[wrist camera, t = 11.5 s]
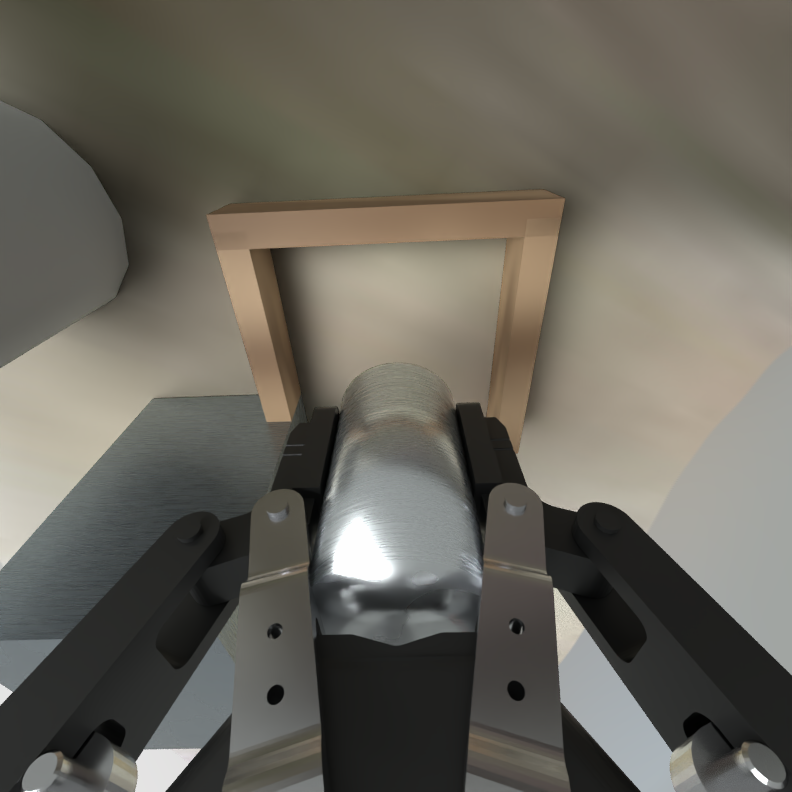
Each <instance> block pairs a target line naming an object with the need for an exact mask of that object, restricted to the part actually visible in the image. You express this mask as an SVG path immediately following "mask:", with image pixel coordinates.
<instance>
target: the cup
mask: <svg viewBox="0 0 792 792" xmlns="http://www.w3.org/2000/svg"><path fill="white" fill-rule="evenodd" d="M128 266H129V263H128V256H127V250H126V243H125V237H124V231H123V224H122V219H121V217H120V215H119V214H118V212H117V210H116V209H115V207H114V205H113V203H112V202H111V200H110V198H109V196H108V195H107V193H106V191H105V190H104V188H103V186H102V184H101V183H100V181H99V179H98V177H97V176H96V174H95V172H94V171H93V169H92V167H91V166H90V165H89V164H88V163H87V162H85V161H84V160H83V159H82V158H81V157H80V156H79V155H78V154H77V153H76V152H75V151H74V150H73V149H72V148H70V147H69V146H68V145H67V144H66V143H65V142H64V141H63V140H62V139H61V138H60V137H59V136H58V135H57V134H55V133H54V132H53V131H52V130H51V129H50V128H49V127H48V126H47V125H46V124H45V123H44V122H43V121H42V120H40V119H38V118H36V117H34V116H32V115H30V114H27V113H25V112H23V111H21V110H19V109H17V108H15V107H13V106H11V105H9V104H6V103H4V102H2V101H0V368H1V367H3V366H5V365H6V364H8V363H10V362H11V361H13V360H14V359H16V358H18V357H19V356H21V355H23V354H24V353H26V352H27V351H29V350H31V349H32V348H34V347H36V346H37V345H39V344H40V343H42V342H44V341H45V340H47V339H49V338H50V337H52V336H54V335H55V334H57V333H58V332H60V331H62V330H63V329H65V328H67V327H68V326H70V325H71V324H73V323H75V322H76V321H78V320H80V319H81V318H83V317H84V316H86V315H88V314H89V313H91V312H93V311H94V310H96V309H97V308H99V307H101V306H102V305H104V304H106V303H107V302H109V301H111V300H112V299H114V298H115V297H116V295H117V293H118V290H119V288H120V285H121V283H122V280H123V278H124V275H125V273H126V271H127V268H128Z"/></svg>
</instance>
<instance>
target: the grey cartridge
mask: <svg viewBox="0 0 792 792" xmlns="http://www.w3.org/2000/svg"><path fill="white" fill-rule="evenodd" d="M483 547H484V543H483V539H482V534H481V529H480V524H479V520H478V515H477V510H476V505H475V500H474V496H473V491H472V486H471V481H470V477H469V472H468V467H467V462H466V458H465V453H464V448H463V443H462V438H461V434H460V429H459V424H458V419H457V415H456V410H455V405H454V400H453V397H452V394H451V391H450V390H449V388H448V386H447V385H446V384H445V382H444V381H443V380H442V379H441V378H440V377H439V376H437V375H436V374H435V373H433V372H431V371H430V370H428V369H426V368H423V367H421V366H418V365H414V364H408V363H387V364H382V365H378V366H375V367H373V368H370V369H368V370H366V371H365V372H363V373H361V374H360V375H359V376H357V377H356V378H355V379H354V380H353V381H352V382H351V383H350V385H349V386H348V388H347V389H346V391H345V393H344V396H343V399H342V404H341V409H340V414H339V419H338V424H337V430H336V435H335V440H334V445H333V450H332V456H331V461H330V466H329V471H328V476H327V481H326V487H325V492H324V497H323V502H322V507H321V513H320V518H319V523H318V528H317V533H316V538H315V544H314V549H313V554H312V589H313V593H314V596H315V599H316V603H317V606H318V609H319V613H320V616H321V620H322V623H323V626H324V630H325V633H326V635H338V634H353V635H357V636H361V637H364V638H368V639H372V640H375V641H379V642H382V643H386V644H390V645H394V646H399V645H403V644H406V643H409V642H412V641H415V640H419V639H422V638H425V637H428V636H431V635H435V634H438V633H441V632H473V630H474V624H475V618H476V612H477V606H478V599H479V593H480V587H481V580H482V565H483Z"/></svg>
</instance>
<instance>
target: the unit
mask: <svg viewBox="0 0 792 792" xmlns="http://www.w3.org/2000/svg"><path fill="white" fill-rule="evenodd" d="M299 423H307V417H306V413H305V408H304V404H303V399H302V394H301V395H300V398H299V401H298V404H297V407H296V410H295V413H294V416H293V418H292V421H286V422H267V421H266V418H265V414H264V411H263V408H262V404H261V401H260V397H259V395H240V396H213V397H185V398H158V399H152V400H151V401H150V403H149V404H148V405H147V406H146V407H145V408H144V409H143V410H142V412H141V413H140V414H139V415H138V416H137V417H136V418H135V420H134V421H133V422H132V423H131V424H130V425H129V426H128V427H127V429H126V430H125V431H124V432H123V433H122V434H121V435H120V436H119V438H118V439H117V440H116V441H115V442H114V443H113V444H112V445H111V447H110V448H109V449H108V450H107V451H106V452H105V453H104V454H103V456H102V457H101V458H100V459H99V460H98V461H97V462H96V463H95V465H94V466H93V467H92V468H91V469H90V470H89V471H88V473H87V474H86V475H85V476H84V477H83V478H82V479H81V480H80V482H79V483H78V484H77V485H76V486H75V487H74V488H73V489H72V491H71V492H70V493H69V494H68V495H67V496H66V497H65V498H64V500H63V501H62V502H61V503H60V504H59V505H58V506H57V507H56V509H55V510H54V511H53V512H52V513H51V514H50V515H49V516H48V518H47V519H46V520H45V521H44V522H43V523H42V524H41V525H40V527H39V528H38V529H37V530H36V531H35V532H34V533H33V535H32V536H31V537H30V538H29V539H28V540H27V541H26V542H25V544H24V545H23V546H22V547H21V548H20V549H19V550H18V551H17V553H16V554H15V555H14V556H13V557H12V558H11V559H10V560H9V562H8V563H7V564H6V565H5V566H4V567H3V568H2V569H1V571H0V684H2V685H3V686H5V687H7V688H8V689H10V690H11V691H13V692H14V691H15V690H16V689H17V688H18V686H19V685H20V684H21V683H22V682H23V681H24V680H25V679H26V678H27V677H28V676H29V675H30V674H31V673H32V672H33V671H34V670H35V669H36V667H37V666H38V665H39V664H40V663H41V662H42V661H43V660H44V659H45V658H46V657H47V656H48V655H49V654H50V653H51V652H52V651H53V650H54V648H55V647H56V646H57V645H58V644H59V643H60V642H61V641H62V640H63V639H64V638H65V637H66V636H67V635H68V634H69V633H70V632H71V630H72V629H73V628H74V627H75V626H76V625H77V624H78V623H79V622H80V621H81V620H82V619H83V618H84V617H85V616H86V615H87V614H88V613H89V611H90V610H91V609H92V608H93V607H94V606H95V605H96V604H97V603H98V602H99V601H100V600H101V599H102V598H103V597H104V596H105V595H106V593H107V592H108V591H109V590H110V589H111V588H112V587H113V586H114V585H115V584H116V583H117V582H118V581H119V580H120V579H121V578H122V577H123V576H124V574H125V573H126V572H127V571H128V570H129V569H130V568H131V567H132V566H133V565H134V564H135V563H136V562H137V561H138V560H139V559H140V558H141V556H142V555H143V554H144V553H145V552H146V551H147V550H148V549H149V548H150V547H151V546H152V545H153V544H154V543H155V542H156V541H157V540H158V539H159V537H160V536H161V535H162V534H163V533H164V532H165V531H166V530H167V529H168V528H169V527H170V526H171V525H172V524H173V523H174V522H176V521H177V520H178V519H180V518H182V517H184V516H186V515H188V514H191V513H194V512H201V511H203V512H210V513H212V514H214V515H215V516H216V517H217V518H218V520H219V522H220V521H223V520H227V519H230V518H233V517H237V516H240V515H243V514H246V513H248V512H250V511H252V509H253V507H254V505H255V504H256V502H257V501H258V500H259V499H260V498H261V497H263V496H264V495H266V494H267V493H269V492H270V491H271V488H272V485H273V483H274V480H275V477H276V474H277V471H278V468H279V465H280V462H281V459H282V457H283V453H284V450H285V447H286V444H287V441H288V438H289V435H290V433H291V432H292V431H293V430H294V428H295V427H296V426H297V425H298V424H299ZM238 611H239V604H238V606H237V607H236V609H235V610H234V612H233V614H232V615H231V617H230V618H229V620H228V621H227V623H226V624H225V626H224V627H223V629H222V630H221V632H220V633H219V635H218V636H217V638H216V639H215V641H214V643H213V644H212V646H211V647H210V649H209V650H208V652H207V653H206V655H205V656H204V658H203V659H202V661H201V662H200V664H199V665H198V667H197V669H196V670H195V672H194V673H193V675H192V676H191V678H190V679H189V681H188V682H187V684H186V685H185V687H184V688H183V690H182V691H181V693H180V694H179V696H178V698H177V699H176V701H175V702H174V704H173V705H172V707H171V708H170V710H169V711H168V713H167V714H166V716H165V717H164V719H163V720H162V722H161V724H160V725H159V727H158V728H157V730H156V731H155V733H154V734H153V736H152V737H151V739H150V740H149V742H148V743H147V745H146V746H145V748H144V749H192V748H203V747H204V745H205V744H206V743H207V742H208V741H209V740H210V738H211V737H212V736H213V735H214V734H215V732H216V731H217V730H218V729H219V728H220V727H221V725H222V724H223V723H224V722H225V721H226V719H227V718H228V717H229V716H230V715H231V714H232V706H233V690H234V674H235V659H236V643H237V627H238Z"/></svg>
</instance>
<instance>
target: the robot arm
mask: <svg viewBox="0 0 792 792" xmlns="http://www.w3.org/2000/svg"><path fill="white" fill-rule="evenodd" d="M456 415H457V419H458V424H459V429H460V434H461V438H462V443H463V448H464V453H465V458H466V462H467V467H468V472H469V477H470V481H471V486H472V491H473V496H474V500H475V505H476V510H477V515H478V520H479V524H480V529H481V534H482V539H483V543H484V547H483V565H482V580H481V587H480V593H479V599H478V606H477V612H476V618H475V624H474V630H473V632H441V633H438V634H435V635H431V636H428V637H425V638H422V639H419V640H415V641H412V642H409V643H406V644H403V645H399V646H394V645H390V644H386V643H382V642H379V641H375V640H372V639H368V638H364V637H361V636H357V635H353V634H338V635H326V633H325V630H324V626H323V623H322V620H321V616H320V613H319V609H318V606H317V603H316V599H315V596H314V593H313V589H312V554H313V549H314V544H315V538H316V533H317V528H318V523H319V518H320V513H321V507H322V502H323V497H324V492H325V487H326V481H327V476H328V471H329V466H330V461H331V456H332V450H333V445H334V440H335V435H336V430H337V424H338V419H339V409H338V407H315V409H314V412H313V416H312V419H311V422H307V423H299V424H298V425H297V426H296V427H295V428H294V430H293V431H292V432H291V433H290V435H289V438H288V441H287V444H286V447H285V450H284V453H283V457H282V459H281V462H280V465H279V468H278V471H277V474H276V477H275V480H274V483H273V485H272V488H271V491H270V492H269V493H267V494H266V495H264V496H263V497H261V498H260V499H259V500H258V501H257V502H256V504H255V505H254V507H253V509H252V511H250V512H248V513H246V514H243V515H240V516H237V517H233V518H230V519H227V520H223V521H220V522H219V520H218V518H217V517H216V516H215V515H214V514H212V513H210V512H203V511H201V512H194V513H191V514H188V515H186V516H184V517H182V518H180V519H178V520H177V521H176V522H174V523H173V524H172V525H171V526H170V527H169V528H168V529H167V530H166V531H165V532H164V533H163V534H162V535H161V536H160V537H159V539H158V540H157V541H156V542H155V543H154V544H153V545H152V546H151V547H150V548H149V549H148V550H147V551H146V552H145V553H144V554H143V555H142V556H141V558H140V559H139V560H138V561H137V562H136V563H135V564H134V565H133V566H132V567H131V568H130V569H129V570H128V571H127V572H126V573H125V574H124V576H123V577H122V578H121V579H120V580H119V581H118V582H117V583H116V584H115V585H114V586H113V587H112V588H111V589H110V590H109V591H108V592H107V593H106V595H105V596H104V597H103V598H102V599H101V600H100V601H99V602H98V603H97V604H96V605H95V606H94V607H93V608H92V609H91V610H90V611H89V613H88V614H87V615H86V616H85V617H84V618H83V619H82V620H81V621H80V622H79V623H78V624H77V625H76V626H75V627H74V628H73V629H72V630H71V632H70V633H69V634H68V635H67V636H66V637H65V638H64V639H63V640H62V641H61V642H60V643H59V644H58V645H57V646H56V647H55V648H54V650H53V651H52V652H51V653H50V654H49V655H48V656H47V657H46V658H45V659H44V660H43V661H42V662H41V663H40V664H39V665H38V666H37V667H36V669H35V670H34V671H33V672H32V673H31V674H30V675H29V676H28V677H27V678H26V679H25V680H24V681H23V682H22V683H21V684H20V685H19V686H18V688H17V689H16V690H15V691H14V692H13V693H12V694H11V695H10V696H9V697H8V698H7V699H6V700H5V701H4V703H3V704H1V706H0V792H135V788H136V784H137V765H136V763H135V762H136V760H137V759H138V757H139V756H140V754H141V753H142V751H143V749H144V748H145V746H146V745H147V743H148V742H149V740H150V739H151V737H152V736H153V734H154V733H155V731H156V730H157V728H158V727H159V725H160V724H161V722H162V720H163V719H164V717H165V716H166V714H167V713H168V711H169V710H170V708H171V707H172V705H173V704H174V702H175V701H176V699H177V698H178V696H179V694H180V693H181V691H182V690H183V688H184V687H185V685H186V684H187V682H188V681H189V679H190V678H191V676H192V675H193V673H194V672H195V670H196V669H197V667H198V665H199V664H200V662H201V661H202V659H203V658H204V656H205V655H206V653H207V652H208V650H209V649H210V647H211V646H212V644H213V643H214V641H215V639H216V638H217V636H218V635H219V633H220V632H221V630H222V629H223V627H224V626H225V624H226V623H227V621H228V620H229V618H230V617H231V615H232V614H233V612H234V610H235V609H236V607H237V606H238V604H239V611H238V627H237V643H236V659H235V674H234V690H233V706H232V714H231V715H230V716H229V717H228V718H227V719H226V721H225V722H224V723H223V724H222V725H221V727H220V728H219V729H218V730H217V731H216V732H215V734H214V735H213V736H212V737H211V738H210V740H209V741H208V742H207V743H206V744H205V745H204V747H203V748H202V749H201V750H200V751H199V753H198V754H197V755H196V756H195V757H194V758H193V760H192V761H191V762H190V763H189V764H188V766H187V767H186V768H185V769H184V770H183V771H182V773H181V774H180V775H179V776H178V777H177V779H176V780H175V781H174V782H173V783H172V785H171V786H170V787H169V788H168V789H167V790H166V792H640V790H639V789H638V788H637V787H636V786H635V785H634V784H633V782H632V781H631V780H630V779H629V778H628V777H627V776H626V775H625V774H624V772H623V771H622V770H621V769H620V768H619V767H618V766H617V765H616V764H615V762H614V761H613V760H612V759H611V758H610V757H609V756H608V755H607V753H606V752H605V751H604V750H603V749H602V748H601V747H600V746H599V744H598V743H597V742H596V741H595V740H594V739H593V738H592V737H591V735H590V734H589V733H588V732H587V731H586V730H585V729H584V728H583V727H582V725H581V724H580V723H579V722H578V721H577V720H576V719H575V718H574V716H572V714H571V713H570V712H569V711H568V710H567V709H566V707H565V706H564V705H563V704H562V703H561V702H560V687H559V671H558V655H557V640H556V624H555V609H554V593H553V587H554V588H557V589H558V590H559V592H560V593H561V595H562V596H563V597H564V599H565V600H566V602H567V603H568V605H569V606H570V607H571V609H572V610H573V612H574V613H575V615H576V616H577V617H578V619H579V620H580V622H581V623H582V624H583V626H584V627H585V629H586V630H587V631H588V633H589V634H590V636H591V637H592V639H593V640H594V641H595V643H596V644H597V646H598V647H599V649H600V650H601V651H602V653H603V654H604V656H605V657H606V658H607V660H608V661H609V663H610V664H611V666H612V667H613V668H614V670H615V671H616V673H617V674H618V676H619V677H620V678H621V680H622V681H623V683H624V684H625V685H626V687H627V688H628V690H629V691H630V693H631V694H632V695H633V697H634V698H635V700H636V701H637V702H638V704H639V705H640V707H641V708H642V710H643V711H644V712H645V714H646V715H647V717H648V718H649V719H650V721H651V722H652V724H653V725H654V727H655V728H656V729H657V731H658V732H659V734H660V735H661V737H662V738H663V739H664V741H665V742H666V744H667V745H668V746H669V748H670V749H671V751H672V752H673V753H672V756H671V759H670V774H671V780H672V783H673V786H674V789H675V791H676V792H792V675H790V673H789V672H788V671H787V670H786V669H784V668H783V667H782V666H781V665H780V664H779V663H778V662H777V661H776V660H775V659H774V658H773V657H772V656H771V655H770V654H769V653H768V652H767V651H766V650H765V649H764V648H763V647H762V646H761V645H760V644H759V643H758V642H757V641H756V640H755V639H754V638H753V637H752V636H751V635H750V634H749V633H748V632H747V631H746V630H744V628H743V627H741V625H739V624H738V623H737V622H736V621H735V620H734V619H733V618H732V617H731V616H730V615H729V614H728V613H727V612H726V611H725V610H724V609H723V608H722V607H721V606H720V605H719V604H718V603H717V602H716V601H715V600H714V599H713V598H712V597H711V596H710V595H709V594H708V593H707V592H706V591H705V590H704V589H703V588H702V587H701V586H700V585H699V584H697V582H695V581H694V580H693V579H692V578H691V577H690V576H689V575H688V574H687V573H686V572H685V571H684V570H683V569H682V568H681V567H680V566H679V565H678V564H677V563H676V562H675V561H674V560H673V559H672V558H671V557H670V556H669V555H668V554H667V553H666V552H665V551H664V550H663V549H662V548H661V547H660V546H659V545H658V544H657V543H656V542H655V541H654V540H652V538H650V537H649V536H648V535H647V534H646V533H645V532H644V531H643V530H642V529H641V528H640V527H639V526H638V525H637V524H636V523H635V522H634V521H633V520H632V519H631V518H630V517H629V516H628V515H627V514H626V513H624V512H623V511H621V510H620V509H618V508H616V507H614V506H612V505H609V504H606V503H600V502H592V503H587V504H585V505H583V506H582V507H580V509H579V510H578V512H574V511H570V510H565V509H561V508H557V507H554V506H551V505H548V504H546V503H544V502H542V501H541V499H540V498H539V496H538V495H537V494H536V493H535V492H534V491H533V490H531V489H530V488H528V486H527V484H526V482H525V479H524V476H523V473H522V471H521V468H520V465H519V462H518V460H517V457H516V454H515V451H514V450H513V446H512V443H511V441H510V438H509V435H508V432H507V429H506V427H505V426H504V425H503V424H502V423H501V422H500V421H499V420H498V419H497V418H496V417H484V416H483V413H482V409H481V406H480V403H457V404H456Z"/></svg>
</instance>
